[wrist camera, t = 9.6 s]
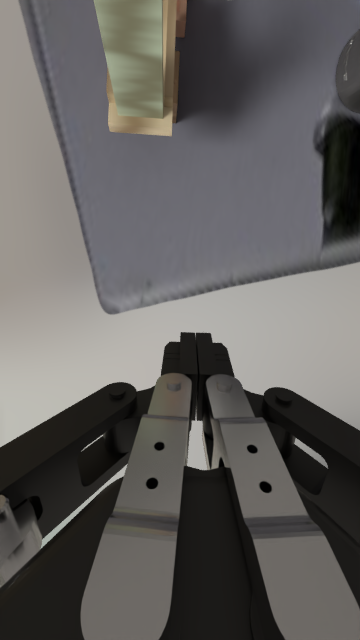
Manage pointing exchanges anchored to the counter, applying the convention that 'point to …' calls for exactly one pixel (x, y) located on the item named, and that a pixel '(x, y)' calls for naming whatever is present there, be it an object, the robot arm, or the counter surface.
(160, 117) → the ramp
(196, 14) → the counter surface
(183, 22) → the dish
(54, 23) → the counter surface
